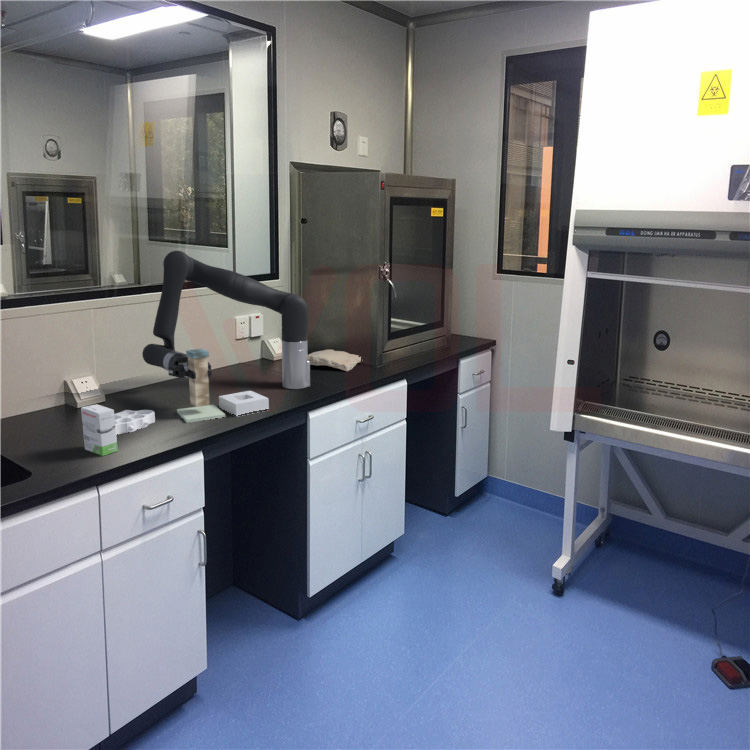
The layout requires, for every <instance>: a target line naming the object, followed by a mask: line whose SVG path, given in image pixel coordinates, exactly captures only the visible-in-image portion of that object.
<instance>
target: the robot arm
mask: <svg viewBox="0 0 750 750" xmlns="http://www.w3.org/2000/svg"><path fill="white" fill-rule="evenodd" d="M162 262H163V264H162V266H163V279H162V289H161V294H160V298H159V303H158V307H157V310H156V316H155V320H154V323H153V324H154V325H153V330H152V333H153V334H152V335H153V336H154V337H156V338H158V339H160V340H163V345H162V344H157V343H149V344H147V345H146V346H145V347H144V348H143V349H142V359H143V360H144V362H145V363H146V364H148V365H151V366H154V367H158V368H162V369H164V370H165V371H167V372H168V376H170V377H174V378H180V379H189V378H192V379H196V373H195V372H194V371H192V370H189V369H188V356H186V353H183V352H181V351H179V350H178V351H177V350H175V349H176V348H175V332H176V327H177V323H178V318H179V317H178V316H179V310H180V300H181V297H182V291H183V288H184V283H185V281H186V282H191V283H194V284H197V285H201V286H203V287H205V288H207V289H209V290H211V291H212V292H215V293H216V294H219V295H221V296H222V297H226V298H229V299H231V300H234V301H236V302H239V303H243V304H247V305H253V306H259V307H263V308H266V309H269V310H272V311H274V312H276V313H279V314H280V315H281V364H282V365H281V367H282V368H281V369H282V370H281V372H282V374H281V375H282V377H281V378H282V379H281V381H282V387H283V388H285V389H290V390H300V389H304V388H305V389H306V388H308V387H311V365H310V361H309V360H308V355H309V354H308V348H309V347H308V335H309V307H308V304H307V302H306V301H305V299H304V297H302V296H300V295H299V294H295V293H291V292H286V291H282V290H279V289H276V288H273V287H271V286H268V285H266V284H264V283H263V282H260V281H259V280H256V279H254V278H251V277H249V276H247V275H244V274H242V273H239V272H236V271H233V270H229V269H225V268H221V267H217V266H212V265H210V264H209V265H208V264H206V263H204V262H202V261H199V260H197V259H195V258H193V257H191V256H189V255H187V254H186V253H185V252H183V251H181V250H172V251H170V252H169V253H167V254H166V255H165V256H164V259H163V261H162ZM211 376H212V365H211V363H210V362H209V361H208V378H211Z"/></svg>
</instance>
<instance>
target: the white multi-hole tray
mask: <svg viewBox="0 0 750 750" xmlns="http://www.w3.org/2000/svg"><path fill="white" fill-rule="evenodd" d="M155 415H156V413H155V411H154V410H151V409H141V410H132V409H131V410H130V409H124V410H122V411H120V412H116V413H114V417H115V426H116V436H118V435H121V434H129V433H133V432H135V431H137V429H138V430H141V428H142V429H144V428H147V427H148V426H149V425H151V424H154V423H155V422H156V416H155ZM128 432H129V433H128ZM117 434H118V435H117Z"/></svg>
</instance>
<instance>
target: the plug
mask: <svg viewBox="0 0 750 750" xmlns="http://www.w3.org/2000/svg"><path fill="white" fill-rule="evenodd" d="M209 353H210V352H209V350H206V349H203V348H197V349H196V348H195V349H188V350H187V349H186V351H185V354H186V356H188V369H189V370H192V371H194V372H195V373H196V379H192V378H189V377H188V384H189V385H188V386H189V404H190V405H192V407H200V406H207V405H211V404H210V381H209V380H210V379H209V377H208V362H209V361H208V359H209V357H210V354H209Z"/></svg>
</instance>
